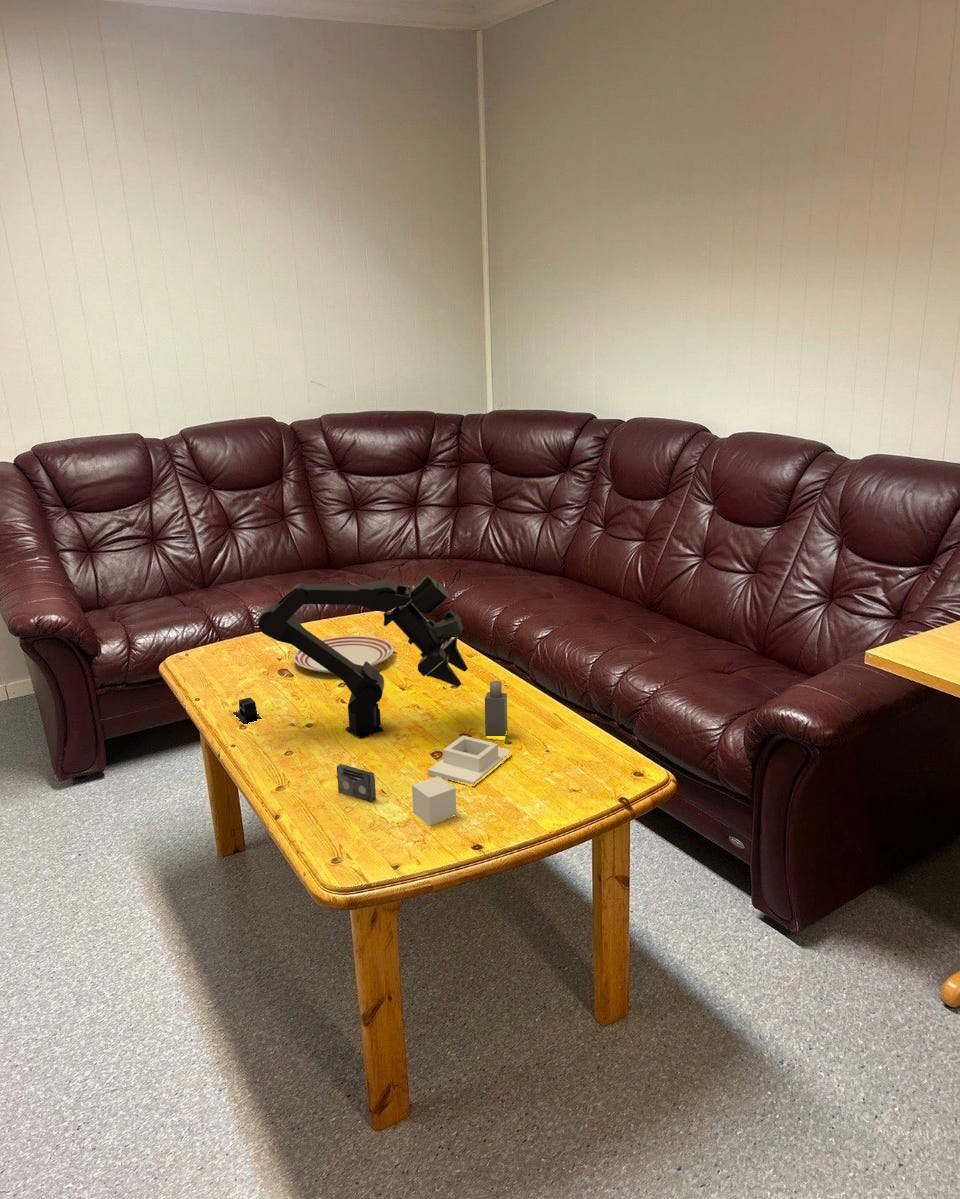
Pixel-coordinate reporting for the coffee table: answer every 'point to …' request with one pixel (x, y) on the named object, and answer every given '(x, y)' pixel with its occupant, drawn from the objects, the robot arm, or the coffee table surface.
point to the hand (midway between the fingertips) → (463, 677)
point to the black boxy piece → (247, 711)
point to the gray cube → (434, 800)
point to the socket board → (468, 760)
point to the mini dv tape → (356, 783)
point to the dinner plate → (350, 651)
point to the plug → (495, 710)
